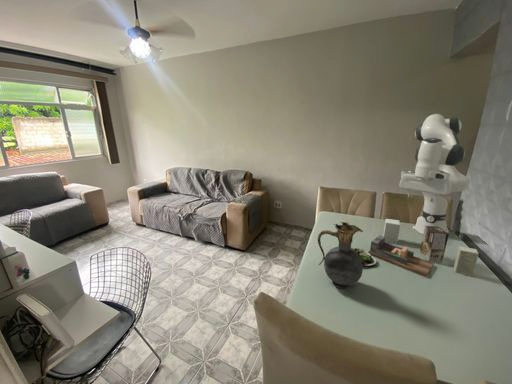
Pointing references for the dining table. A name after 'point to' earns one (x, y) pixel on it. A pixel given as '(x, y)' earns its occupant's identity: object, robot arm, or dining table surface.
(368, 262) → the salad plate
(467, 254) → the skincare box
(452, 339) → the dining table surface
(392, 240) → the supplement box
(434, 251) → the coffee box
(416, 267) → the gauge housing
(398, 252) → the block
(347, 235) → the pitcher
